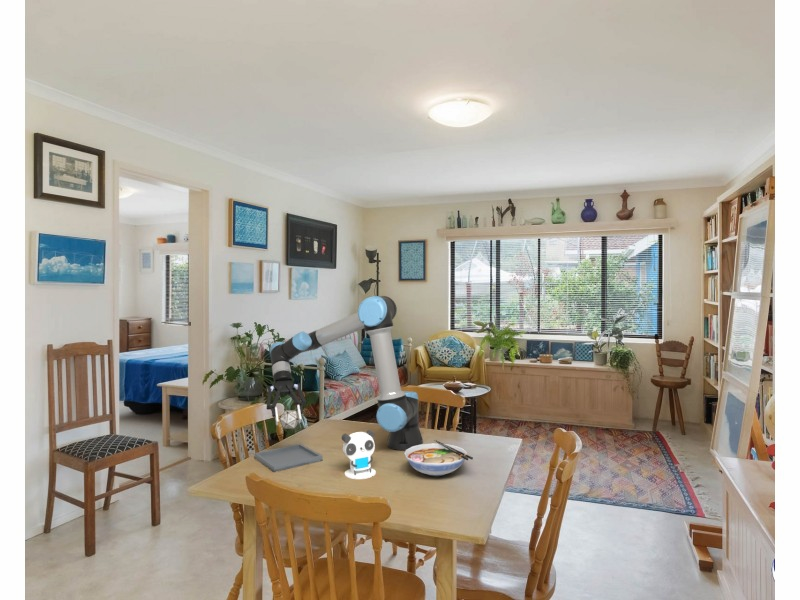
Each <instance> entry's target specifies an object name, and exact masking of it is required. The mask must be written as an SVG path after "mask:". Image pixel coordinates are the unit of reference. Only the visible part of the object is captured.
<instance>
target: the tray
mask: <svg viewBox="0 0 800 600" xmlns="http://www.w3.org/2000/svg"><path fill="white" fill-rule="evenodd" d="M253 455H254V459H255V460H256V459H257V460H256V461H257V462H259V463H260V462H261V463H260V464H261V465H264V466H265V467H266V468H267V467H268V468H267V469H269V470H270V469H271V470H270V471H272V472H273V473H277V472H276V471H278V472H281V470H282V471H286V470H290V469H293V468H298V467H303V466H306V464H307V465H310V463H311V464H315V463H319V462H322V461H323V455H322V454H320V453H318V452H317V451H315V450H313V449H311V448H309V447H307V446H305V445H304V444H302V443H296V444H292V445H291V444H290V445H287V446H282V447H278V448H273V449H268V450H264V451H259V452H254V454H253Z"/></svg>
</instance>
